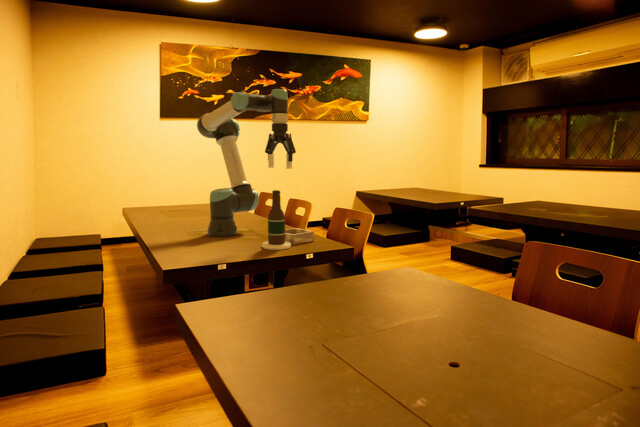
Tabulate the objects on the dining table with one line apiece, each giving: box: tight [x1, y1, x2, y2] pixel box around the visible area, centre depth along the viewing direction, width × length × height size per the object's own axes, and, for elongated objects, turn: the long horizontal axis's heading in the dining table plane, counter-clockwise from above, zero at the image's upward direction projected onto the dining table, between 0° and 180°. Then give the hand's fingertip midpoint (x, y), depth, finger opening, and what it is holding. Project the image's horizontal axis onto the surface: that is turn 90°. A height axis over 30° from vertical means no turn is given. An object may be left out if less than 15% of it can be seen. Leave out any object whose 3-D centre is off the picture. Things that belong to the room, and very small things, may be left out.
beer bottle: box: [267, 189, 286, 245], centre depth 197 cm, size 8×8×24 cm
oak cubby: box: [285, 227, 315, 246], centre depth 212 cm, size 13×13×4 cm
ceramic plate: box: [261, 240, 292, 251], centre depth 199 cm, size 13×13×2 cm
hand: (279, 168), depth 211 cm, fingers open, 13 cm apart
